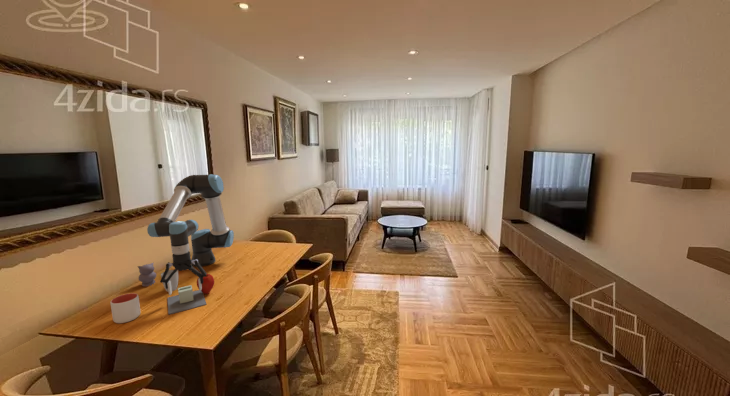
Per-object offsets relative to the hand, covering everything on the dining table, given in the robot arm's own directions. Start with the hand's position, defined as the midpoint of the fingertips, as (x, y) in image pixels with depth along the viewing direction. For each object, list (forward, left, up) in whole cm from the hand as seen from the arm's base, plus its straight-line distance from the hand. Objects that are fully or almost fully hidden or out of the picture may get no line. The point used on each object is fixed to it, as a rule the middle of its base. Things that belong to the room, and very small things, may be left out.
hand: (185, 291), depth 152 cm
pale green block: (0, 0, -4) cm, 4 cm away
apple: (-4, +10, -5) cm, 11 cm away
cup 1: (+2, -24, -5) cm, 25 cm away
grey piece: (0, 0, -5) cm, 5 cm away
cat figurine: (-37, -17, -5) cm, 41 cm away
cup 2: (-21, -6, -5) cm, 22 cm away
